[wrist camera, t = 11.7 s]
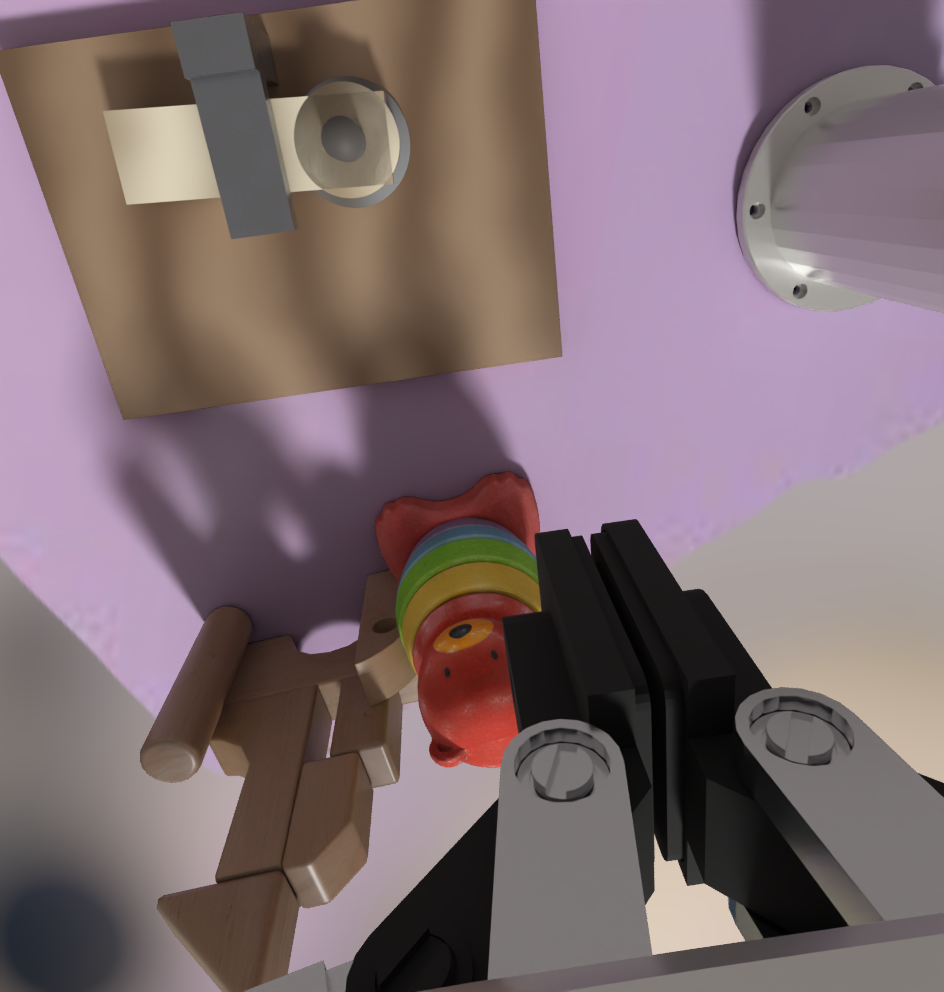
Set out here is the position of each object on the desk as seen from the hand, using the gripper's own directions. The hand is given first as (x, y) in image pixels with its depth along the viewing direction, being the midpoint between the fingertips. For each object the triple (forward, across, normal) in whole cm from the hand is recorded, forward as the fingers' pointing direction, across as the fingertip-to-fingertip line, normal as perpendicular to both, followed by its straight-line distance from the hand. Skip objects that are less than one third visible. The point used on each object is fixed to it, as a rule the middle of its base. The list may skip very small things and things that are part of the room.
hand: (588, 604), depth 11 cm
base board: (+32, +8, -6) cm, 33 cm away
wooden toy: (+32, +13, +20) cm, 40 cm away
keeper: (+31, +10, -10) cm, 33 cm away
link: (+30, +9, -9) cm, 33 cm away
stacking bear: (+32, +2, +16) cm, 36 cm away
